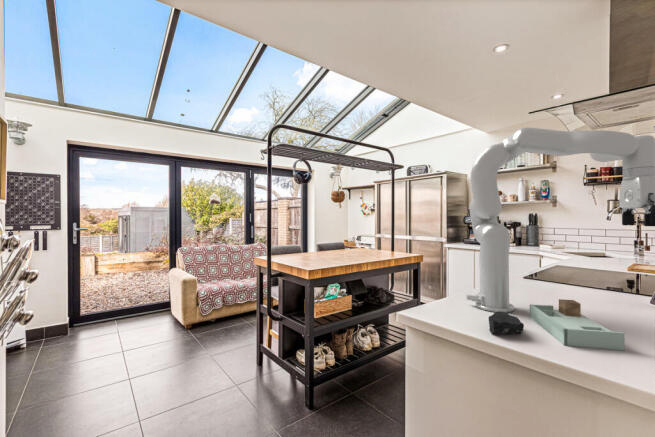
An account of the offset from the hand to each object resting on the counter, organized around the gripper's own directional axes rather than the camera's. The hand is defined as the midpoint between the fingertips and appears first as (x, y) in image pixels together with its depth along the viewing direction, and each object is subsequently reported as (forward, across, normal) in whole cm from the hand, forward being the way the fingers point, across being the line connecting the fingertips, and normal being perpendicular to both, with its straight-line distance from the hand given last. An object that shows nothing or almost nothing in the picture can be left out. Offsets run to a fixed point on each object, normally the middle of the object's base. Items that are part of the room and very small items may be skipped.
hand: (639, 225), depth 97 cm
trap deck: (+30, +20, -29) cm, 46 cm away
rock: (+31, +24, -47) cm, 61 cm away
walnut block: (+27, +12, -26) cm, 39 cm away
